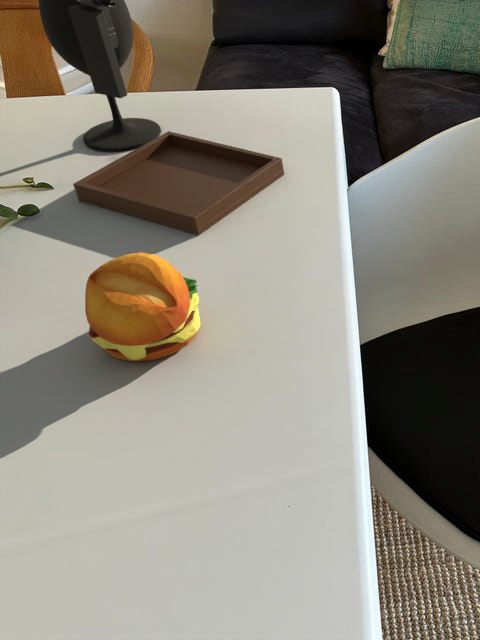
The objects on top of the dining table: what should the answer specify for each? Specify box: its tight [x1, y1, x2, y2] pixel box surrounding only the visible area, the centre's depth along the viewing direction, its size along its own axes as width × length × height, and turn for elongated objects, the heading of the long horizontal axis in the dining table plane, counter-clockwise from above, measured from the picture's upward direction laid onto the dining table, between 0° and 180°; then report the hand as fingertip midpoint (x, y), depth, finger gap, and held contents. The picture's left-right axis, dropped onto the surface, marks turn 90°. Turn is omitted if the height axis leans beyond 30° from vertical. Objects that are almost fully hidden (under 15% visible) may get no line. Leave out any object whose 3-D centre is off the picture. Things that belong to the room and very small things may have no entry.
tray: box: [72, 130, 285, 236], centre depth 97 cm, size 19×17×2 cm
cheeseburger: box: [84, 251, 202, 362], centre depth 73 cm, size 10×11×10 cm
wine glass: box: [37, 0, 162, 153], centre depth 103 cm, size 10×10×20 cm
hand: (42, 126), depth 58 cm, fingers open, 13 cm apart
